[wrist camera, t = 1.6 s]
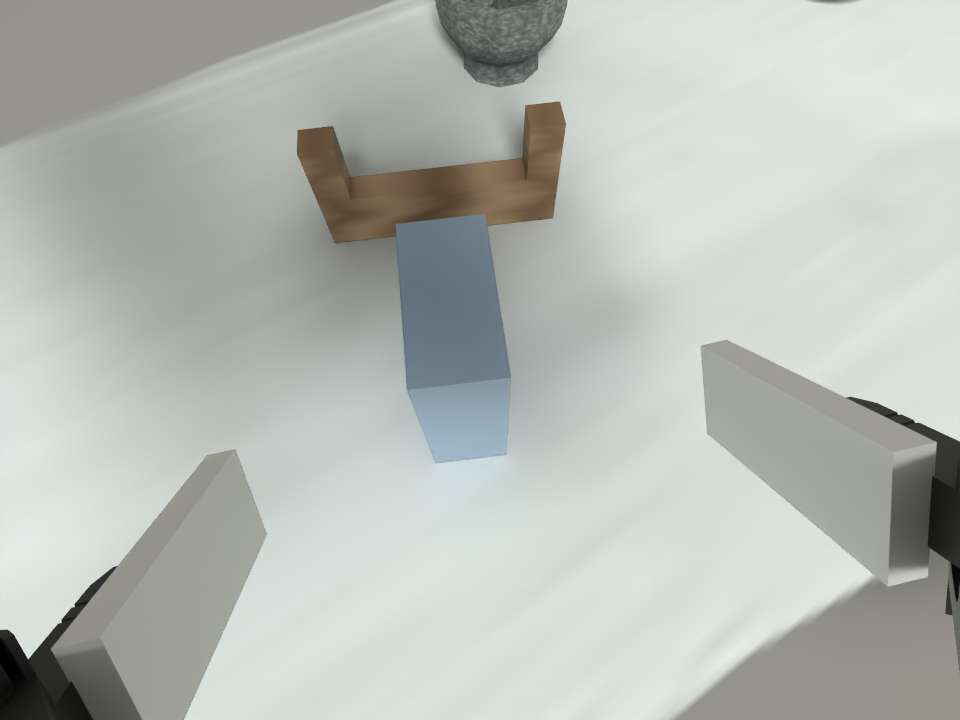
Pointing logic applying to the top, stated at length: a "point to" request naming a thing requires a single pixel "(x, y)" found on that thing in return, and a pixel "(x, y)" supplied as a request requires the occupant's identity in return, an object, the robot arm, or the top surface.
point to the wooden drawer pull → (437, 183)
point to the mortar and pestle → (501, 35)
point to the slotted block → (454, 337)
